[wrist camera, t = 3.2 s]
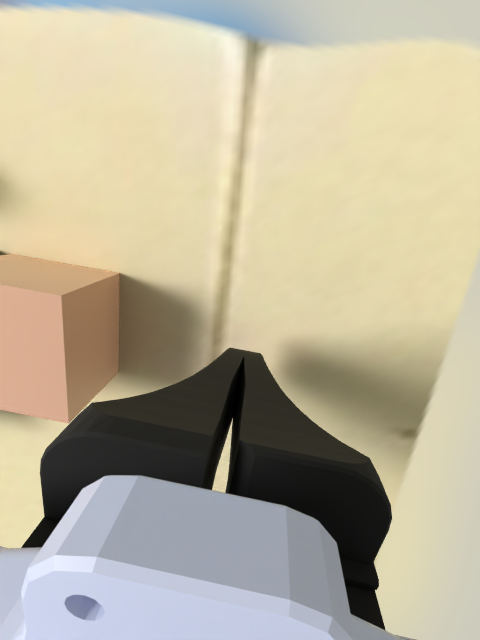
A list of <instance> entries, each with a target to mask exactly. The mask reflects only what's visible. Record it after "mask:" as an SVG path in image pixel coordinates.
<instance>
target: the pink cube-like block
mask: <svg viewBox="0 0 480 640" xmlns="http://www.w3.org/2000/svg"><path fill="white" fill-rule="evenodd" d="M119 291H120V273H117V272H111V271H106V270H100V269H94V268H88V267H83V266H77V265H71V264H66V263H60V262H54V261H48V260H43V259H37V258H31V257H26V256H20V255H14V254H7V255H1V256H0V410H4V411H9V412H14V413H19V414H24V415H29V416H34V417H39V418H44V419H49V420H54V421H59V422H64V423H69V422H70V421H71V420H72V419H73V418H74V417H75V416H76V415H77V414H78V413H79V412H80V411H81V410H82V409H83V408H84V407H85V406H86V405H87V404H88V403H89V402H90V401H91V400H92V399H93V398H94V397H95V396H96V395H97V394H98V393H99V392H100V391H101V390H102V389H103V388H104V387H105V385H106V384H107V383H108V382H109V381H110V380H111V379H112V378H113V377H114V376H115V375H116V374H117V373H118V372H119Z"/></svg>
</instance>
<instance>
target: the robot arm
mask: <svg viewBox="0 0 480 640" xmlns="http://www.w3.org/2000/svg"><path fill="white" fill-rule="evenodd" d="M232 418H233V424H232V437H231V450H230V464H229V473H228V481H227V487H226V493H222V492H218V491H213V490H212V487H213V483H214V478H215V474H216V470H217V466H218V463H219V460H220V457H221V453H222V450H223V447H224V444H225V441H226V438H227V434H228V431H229V428H230V425H231V422H232ZM40 477H41V487H42V496H43V506H44V516H45V517H44V518H43V519H42V521H41V522H40V523H39V525H38V526H37V527H36V529H35V530H34V531H33V533H32V534H31V535H30V537H29V538H28V539H27V541H26V542H25V543H24V545H23V546H22V547H21V548H5V547H1V546H0V640H415V639H410V638H406V637H401V636H397V635H393V634H391V633H389V632H387V631H386V630H385V626H384V623H383V619H382V616H381V612H380V608H379V604H378V601H377V597H376V593H375V590H377V588H378V586H379V579H378V576H377V572H376V569H375V566H374V560H375V558H376V556H377V553H378V551H379V549H380V547H381V545H382V543H383V541H384V539H385V537H386V535H387V533H388V531H389V527H390V524H391V520H392V513H391V505H390V502H389V500H388V497H387V495H386V492H385V490H384V487H383V485H382V482H381V480H380V478H379V475H378V474H377V472H376V470H375V468H374V466H373V464H372V462H371V460H370V458H368V457H367V456H365V455H363V454H361V453H360V452H358V451H356V450H354V449H353V448H351V447H349V446H347V445H346V444H344V443H342V442H341V441H339V440H337V439H336V438H335V437H333V436H332V435H330V434H329V433H327V432H326V431H324V430H323V429H322V428H320V427H319V426H318V425H317V424H315V423H314V422H313V421H312V420H311V419H309V418H308V417H307V416H306V415H305V414H304V413H302V412H301V411H300V410H299V409H298V408H297V407H296V406H295V405H294V404H293V402H292V401H291V400H290V399H289V398H288V397H287V396H286V395H285V393H284V392H283V391H282V390H281V388H280V387H279V385H278V384H277V382H276V381H275V379H274V377H273V376H272V374H271V372H270V371H269V369H268V367H267V365H266V363H265V361H264V358H263V356H262V355H261V353H255V352H250V351H245V350H239V349H234V348H229V349H227V350H226V351H225V352H224V353H223V354H222V355H220V356H219V357H218V358H217V359H216V360H214V361H213V362H212V363H211V364H209V365H208V366H207V367H205V368H204V369H202V370H201V371H199V372H198V373H196V374H194V375H193V376H191V377H189V378H187V379H185V380H183V381H181V382H179V383H176V384H174V385H171V386H168V387H166V388H163V389H160V390H157V391H154V392H150V393H147V394H143V395H139V396H134V397H129V398H124V399H118V400H110V401H103V402H95V403H91V404H90V405H89V406H88V407H87V408H86V409H84V410H83V411H82V412H81V413H80V414H79V415H78V416H77V417H76V418H75V419H74V420H73V421H72V422H71V423H70V424H69V425H68V426H67V427H66V428H65V429H64V430H63V431H62V432H61V434H60V435H59V436H58V437H57V438H56V439H55V440H54V441H53V442H52V443H51V444H50V445H49V446H48V447H47V448H46V450H45V452H44V454H43V456H42V459H41V466H40Z"/></svg>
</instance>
